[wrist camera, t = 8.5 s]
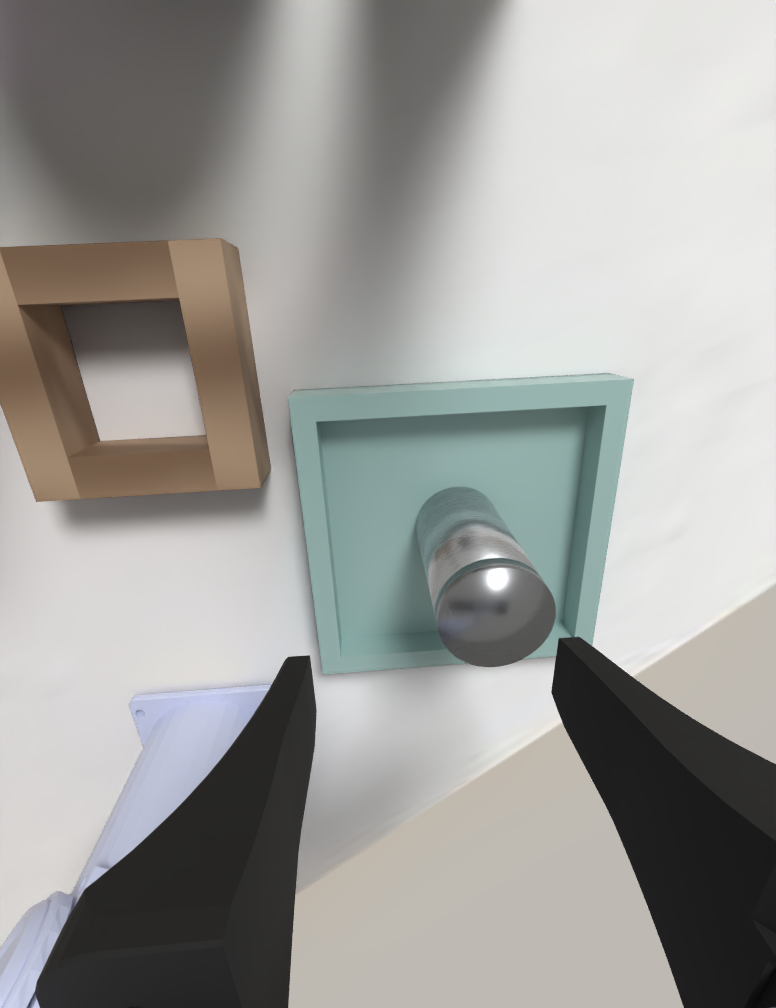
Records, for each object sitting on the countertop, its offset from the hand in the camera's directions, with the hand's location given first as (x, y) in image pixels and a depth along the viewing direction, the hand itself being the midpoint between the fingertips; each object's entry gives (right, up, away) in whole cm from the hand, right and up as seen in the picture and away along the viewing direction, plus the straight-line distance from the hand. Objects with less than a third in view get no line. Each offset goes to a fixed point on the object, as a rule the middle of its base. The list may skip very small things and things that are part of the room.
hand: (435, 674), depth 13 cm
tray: (+2, +4, +10) cm, 11 cm away
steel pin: (+2, +4, +9) cm, 10 cm away
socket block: (-11, +10, +6) cm, 17 cm away
